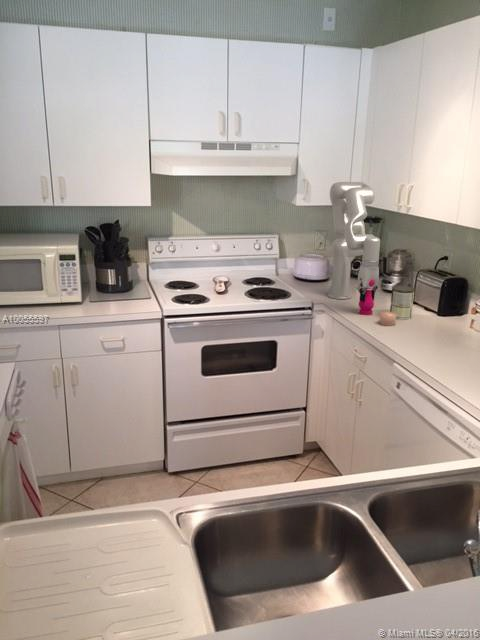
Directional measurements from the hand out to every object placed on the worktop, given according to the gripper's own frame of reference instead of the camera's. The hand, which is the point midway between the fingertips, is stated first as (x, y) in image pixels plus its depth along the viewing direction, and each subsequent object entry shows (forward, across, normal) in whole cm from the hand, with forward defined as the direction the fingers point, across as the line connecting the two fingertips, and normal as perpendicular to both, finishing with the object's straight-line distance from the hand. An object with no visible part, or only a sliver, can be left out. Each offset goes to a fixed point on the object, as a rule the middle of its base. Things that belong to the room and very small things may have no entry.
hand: (366, 300), depth 256 cm
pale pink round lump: (+7, +3, +17) cm, 18 cm away
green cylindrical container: (+7, -11, +12) cm, 18 cm away
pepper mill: (+7, 0, 0) cm, 7 cm away
